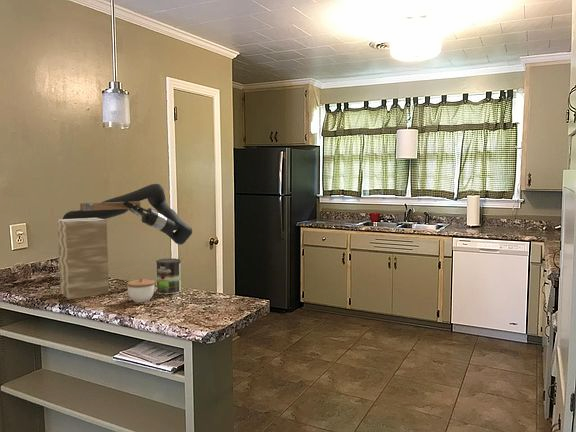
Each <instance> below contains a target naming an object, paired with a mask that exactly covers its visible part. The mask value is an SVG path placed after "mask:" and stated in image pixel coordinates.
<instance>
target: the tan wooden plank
mask: <svg viewBox="0 0 576 432" xmlns="http://www.w3.org/2000/svg"><path fill="white" fill-rule="evenodd" d="M130 203H131V204H135V205H138V206H140V207H141V201H139V202H137V201H136V202H130ZM79 204H80V210H81V211H93V210H114V209H130V208H128V207H126V206H124V205H123V204H124V202H107V203H101V202H89V203H88V202H86V203H85V202H83V203H79Z"/></svg>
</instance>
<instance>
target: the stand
mask: <svg viewBox="0 0 576 432" xmlns="http://www.w3.org/2000/svg"><path fill="white" fill-rule="evenodd" d="M107 224H108V222H107V219H101V218H79V219H63V218H62V219H57V235H58V236H57V237H58V260H59V262H58V263H59V265H58V266H59V286H60V287H59V288H60V294H62V296H64V297H65V298H67V299H68V300H73V299H75V300H76V299H80V298H86V297H93V296H98V295H106V294H110V286H109V285H110V282H109V254H108V252H109V250H108V249H109V248H108V228H107V227H108V225H107Z"/></svg>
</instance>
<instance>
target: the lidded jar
mask: <svg viewBox="0 0 576 432" xmlns="http://www.w3.org/2000/svg"><path fill="white" fill-rule="evenodd" d="M155 283H156V281H155V280H154V279H146V278H143V277H139V279H134V280H133V279H132V280H129V281H128V282H127V283H126V285H127V293H128V297H129V298H130V299H131V300H132V301H133V302H134V303H139V304H141V303H146V302H149V301H150V299H151V298H152V297H153V295H154V293H155V287H156V286H155Z"/></svg>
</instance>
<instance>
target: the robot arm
mask: <svg viewBox="0 0 576 432" xmlns="http://www.w3.org/2000/svg"><path fill="white" fill-rule="evenodd" d="M146 199H147V202H148V203H149V204H150V205H151V207H152V208H147V209H146V208H145V207H141V205H140V206H138V205H135V204H131V203H130V202H136V201H137V202H142V201H144V200H146ZM107 202H124V204H123V205H124V206H126V207H128V208H130V209H114V210H93V211H81V209H79V210H69V211H68V212H66V213H65V214H64V215H63V217H62V219H79V218H101V219H106V220H107V219H111V218H114V217H117V216H121V215H123V214H126V213H127V212H130V213H131V214H133V215H136V216H137V217H141V222H142V223H143V224H145V225H147V226H149V227H151V228H153V229H155V230H157V231H160V232H161V233H164V234H165V235H167V236H168V237H169V238H170V239H171V240H172V241H173V242H174V243H175V244H176V245H180V246H181V245H184V244H185V243H186V241H187V240H188V239H189V238H190V236H192V235H193V229H192V227H191V226H190V225H189V224H187V223H185V222H184V221H183V220H182V219H181V217H180V216H179V215H178V214H177V212H176V210H174V209H172V208H171V207H170V206H169V204H168V202H167V198H166V194H165V190H164V187H163V186H162V185H161V184H159V183H152V184H148V185H146V186H143V187H142V188H139V189H136V190H134V191H131V192H129V193H125V194H123V195H120V196H116V197H112V198H108V199H106V200H104V201H101V202H100V203H107ZM153 208H154V209H153Z"/></svg>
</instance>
